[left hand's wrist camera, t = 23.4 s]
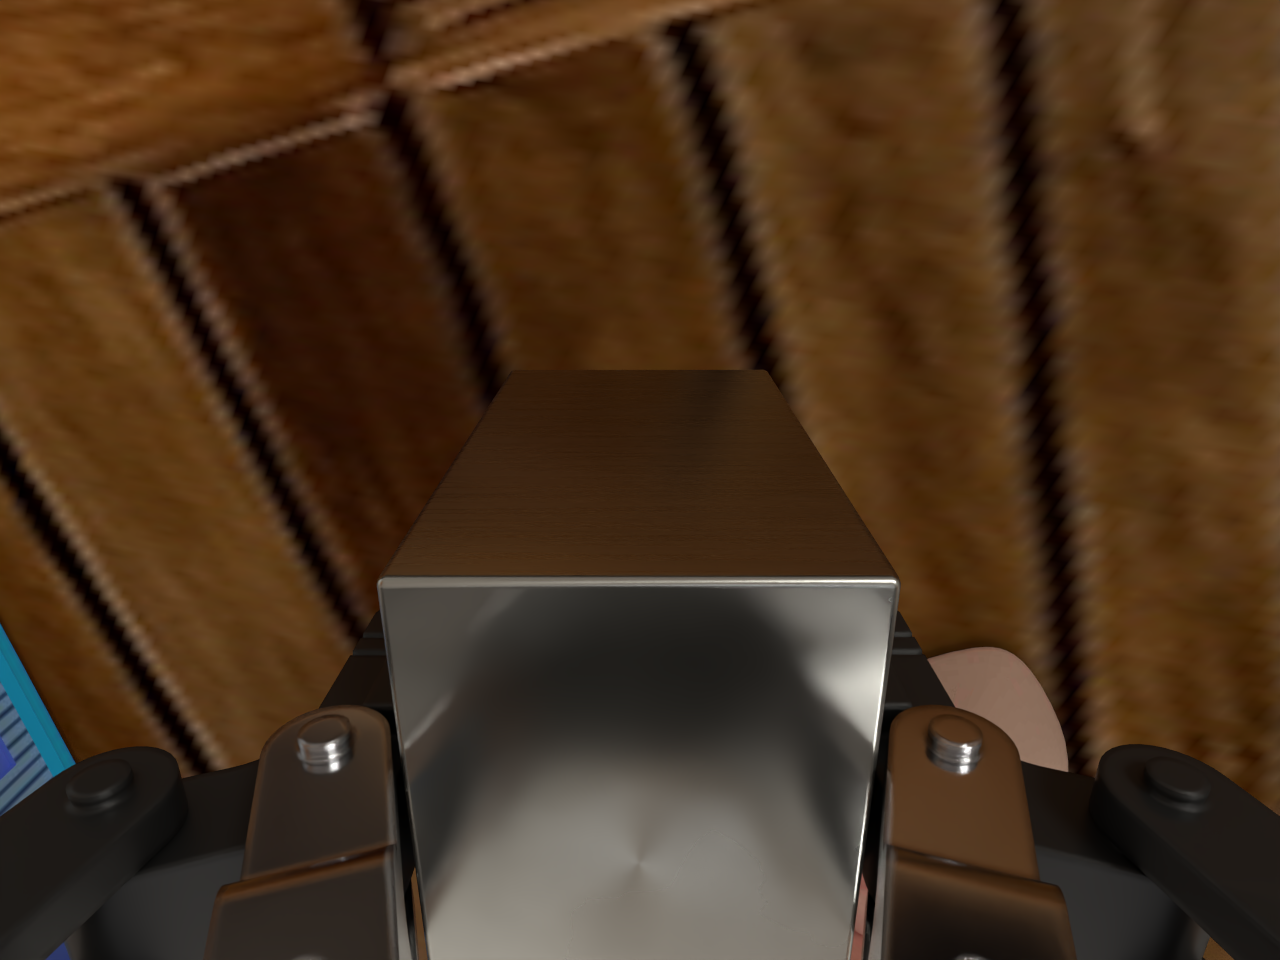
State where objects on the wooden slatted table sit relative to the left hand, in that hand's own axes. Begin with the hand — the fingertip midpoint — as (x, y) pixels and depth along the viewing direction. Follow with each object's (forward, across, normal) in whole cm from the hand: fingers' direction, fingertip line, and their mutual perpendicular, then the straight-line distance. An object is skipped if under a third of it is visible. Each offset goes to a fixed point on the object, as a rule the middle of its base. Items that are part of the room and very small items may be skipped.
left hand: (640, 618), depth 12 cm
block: (+3, 0, 0) cm, 3 cm away
